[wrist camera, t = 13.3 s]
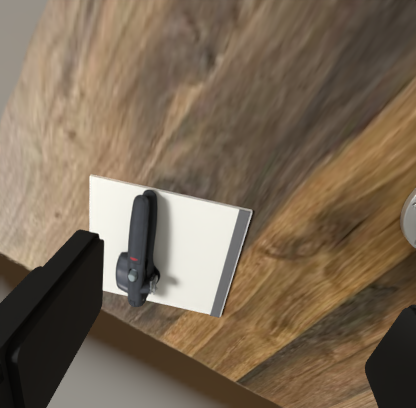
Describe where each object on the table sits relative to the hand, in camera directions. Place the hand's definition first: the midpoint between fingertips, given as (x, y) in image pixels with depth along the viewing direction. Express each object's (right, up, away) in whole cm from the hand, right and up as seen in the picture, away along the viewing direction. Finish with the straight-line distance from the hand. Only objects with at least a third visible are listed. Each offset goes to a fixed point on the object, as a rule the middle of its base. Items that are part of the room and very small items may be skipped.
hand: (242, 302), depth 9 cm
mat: (-8, -4, +35) cm, 36 cm away
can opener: (-10, -2, +34) cm, 35 cm away
